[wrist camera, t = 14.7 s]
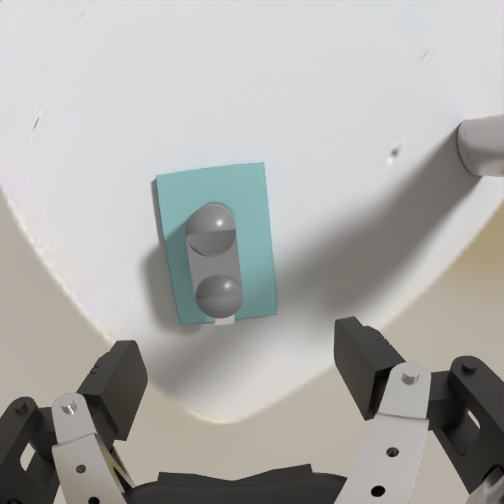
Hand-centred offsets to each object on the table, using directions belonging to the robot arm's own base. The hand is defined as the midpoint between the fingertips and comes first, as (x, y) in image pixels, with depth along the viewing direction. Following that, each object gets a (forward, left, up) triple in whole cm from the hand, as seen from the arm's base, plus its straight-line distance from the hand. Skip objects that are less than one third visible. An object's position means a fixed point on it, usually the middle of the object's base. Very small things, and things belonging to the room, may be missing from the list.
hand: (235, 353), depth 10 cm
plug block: (+2, 0, -22) cm, 22 cm away
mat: (+2, +1, -22) cm, 22 cm away
